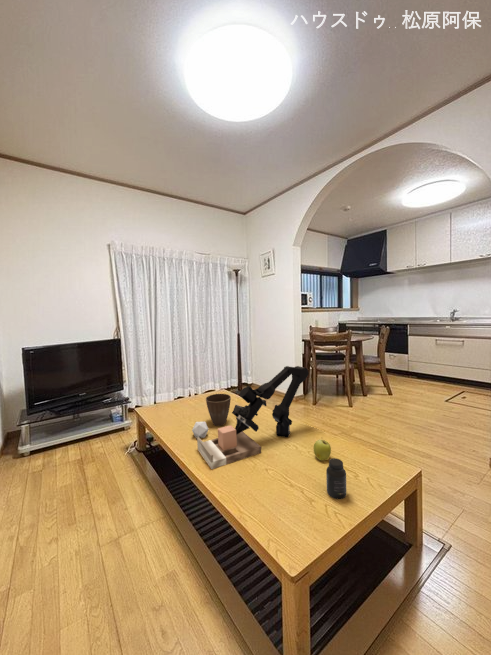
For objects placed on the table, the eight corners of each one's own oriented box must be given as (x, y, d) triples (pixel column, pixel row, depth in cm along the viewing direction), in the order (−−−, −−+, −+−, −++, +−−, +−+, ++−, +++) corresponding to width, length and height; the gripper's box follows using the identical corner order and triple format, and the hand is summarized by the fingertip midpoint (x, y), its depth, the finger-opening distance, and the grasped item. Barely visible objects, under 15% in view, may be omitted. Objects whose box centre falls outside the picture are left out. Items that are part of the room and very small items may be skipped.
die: (201, 443, 137) (210, 426, 140) (187, 434, 138) (197, 417, 141) (203, 441, 145) (212, 425, 147) (190, 433, 146) (199, 417, 149)
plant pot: (230, 428, 151) (229, 401, 150) (204, 429, 152) (203, 402, 151) (232, 418, 166) (231, 393, 165) (209, 418, 167) (207, 394, 166)
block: (231, 440, 131) (230, 425, 130) (236, 446, 125) (236, 429, 125) (218, 444, 127) (217, 428, 127) (223, 450, 122) (222, 433, 122)
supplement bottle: (323, 488, 98) (323, 457, 98) (341, 486, 99) (340, 455, 98) (331, 501, 92) (330, 467, 91) (350, 499, 92) (349, 466, 91)
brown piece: (242, 436, 141) (242, 425, 141) (261, 452, 124) (260, 440, 124) (197, 449, 129) (197, 437, 129) (211, 469, 113) (210, 455, 112)
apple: (308, 456, 118) (312, 434, 119) (318, 455, 123) (321, 434, 124) (323, 464, 112) (326, 440, 113) (332, 462, 117) (336, 440, 118)
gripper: (234, 394, 138) (215, 419, 133) (252, 404, 121) (231, 433, 117) (248, 405, 142) (230, 430, 137) (267, 417, 125) (247, 446, 121)
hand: (234, 434), depth 128 cm, fingers closed, pressing on block
